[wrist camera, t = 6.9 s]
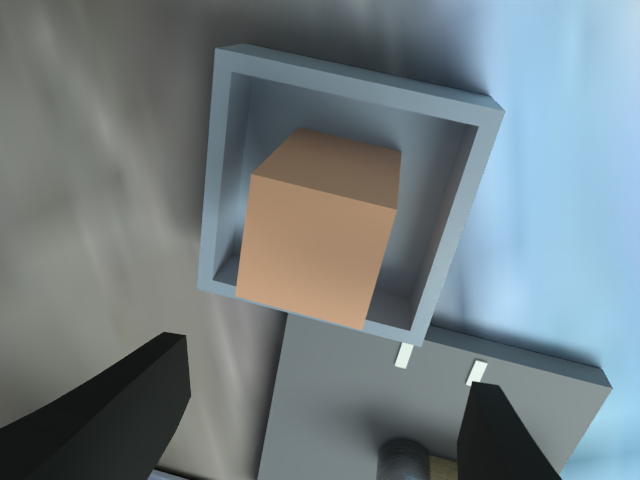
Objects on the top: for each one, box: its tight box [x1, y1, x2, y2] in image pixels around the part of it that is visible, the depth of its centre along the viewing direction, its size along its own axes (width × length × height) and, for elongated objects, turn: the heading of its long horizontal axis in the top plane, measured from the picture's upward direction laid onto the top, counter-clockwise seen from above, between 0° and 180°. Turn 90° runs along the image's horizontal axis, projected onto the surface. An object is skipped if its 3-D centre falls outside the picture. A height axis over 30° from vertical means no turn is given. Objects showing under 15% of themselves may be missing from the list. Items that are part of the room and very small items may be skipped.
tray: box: [197, 43, 505, 347], centre depth 18 cm, size 9×9×3 cm
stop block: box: [235, 127, 402, 330], centre depth 16 cm, size 4×4×6 cm
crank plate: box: [257, 313, 613, 480], centre depth 24 cm, size 14×14×1 cm
